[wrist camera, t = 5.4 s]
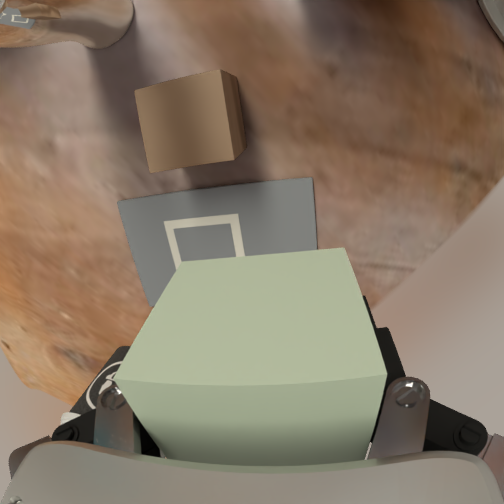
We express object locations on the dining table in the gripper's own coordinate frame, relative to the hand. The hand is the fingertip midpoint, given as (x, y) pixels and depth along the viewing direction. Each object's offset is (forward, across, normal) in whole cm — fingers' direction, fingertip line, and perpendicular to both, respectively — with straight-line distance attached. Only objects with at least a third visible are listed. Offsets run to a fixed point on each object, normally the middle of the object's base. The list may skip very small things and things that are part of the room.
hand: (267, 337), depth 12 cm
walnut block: (+17, +5, -8) cm, 19 cm away
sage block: (+1, 0, 0) cm, 1 cm away
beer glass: (+17, +13, -20) cm, 29 cm away
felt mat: (+17, +6, +4) cm, 18 cm away
